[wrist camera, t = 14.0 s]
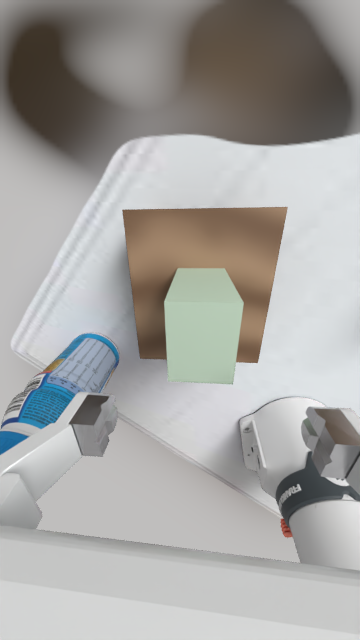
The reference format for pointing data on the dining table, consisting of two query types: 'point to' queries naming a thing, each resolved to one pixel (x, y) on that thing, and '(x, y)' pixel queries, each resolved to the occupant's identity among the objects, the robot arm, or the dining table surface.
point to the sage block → (202, 326)
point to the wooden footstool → (202, 264)
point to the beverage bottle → (59, 387)
